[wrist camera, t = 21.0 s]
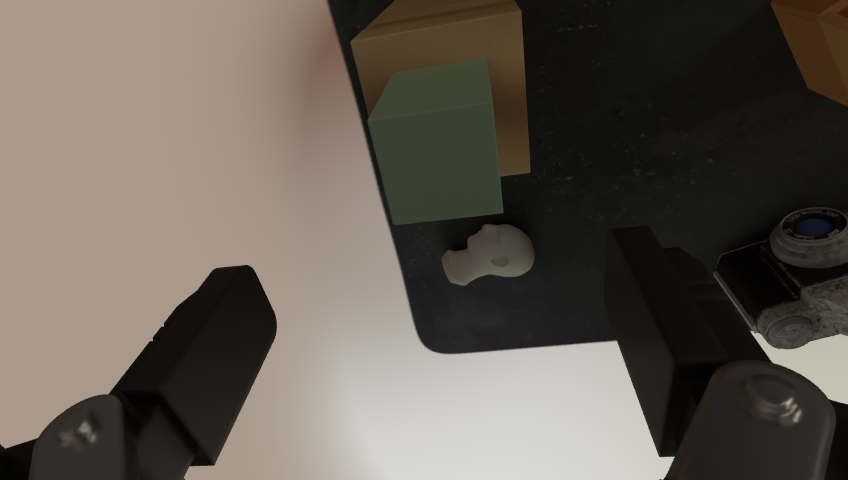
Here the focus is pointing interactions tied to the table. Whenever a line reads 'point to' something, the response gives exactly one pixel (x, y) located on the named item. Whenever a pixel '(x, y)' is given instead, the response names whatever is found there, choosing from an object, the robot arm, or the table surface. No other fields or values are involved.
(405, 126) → the block
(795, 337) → the camera
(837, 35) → the case lid
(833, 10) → the case
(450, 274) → the pale two-lobed sculpture
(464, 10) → the post
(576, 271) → the table surface
